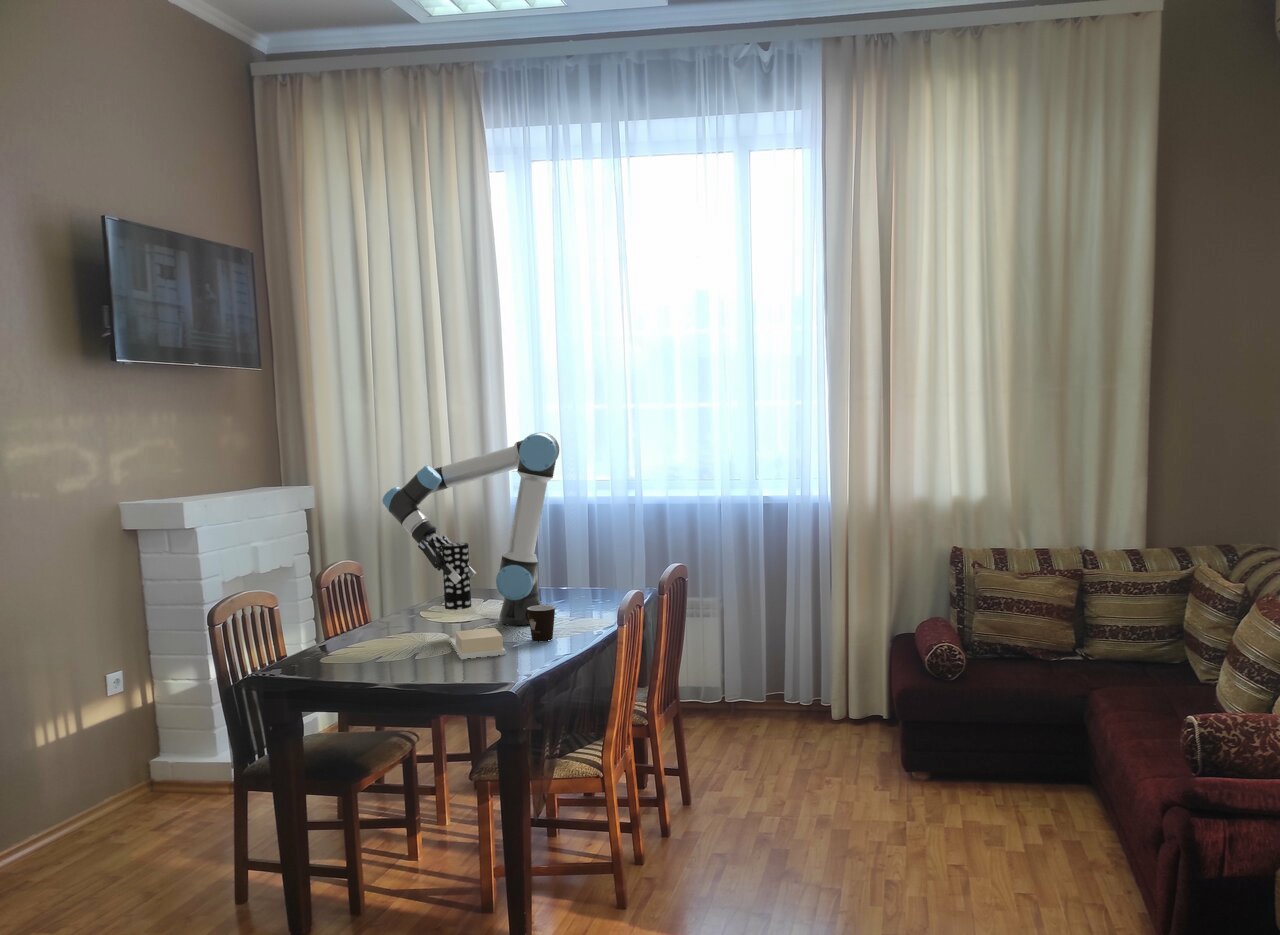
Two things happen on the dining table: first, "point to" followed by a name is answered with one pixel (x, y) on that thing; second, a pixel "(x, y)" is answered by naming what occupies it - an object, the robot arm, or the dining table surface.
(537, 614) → the coffee mug
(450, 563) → the spotted tube
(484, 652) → the stand
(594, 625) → the dining table surface
